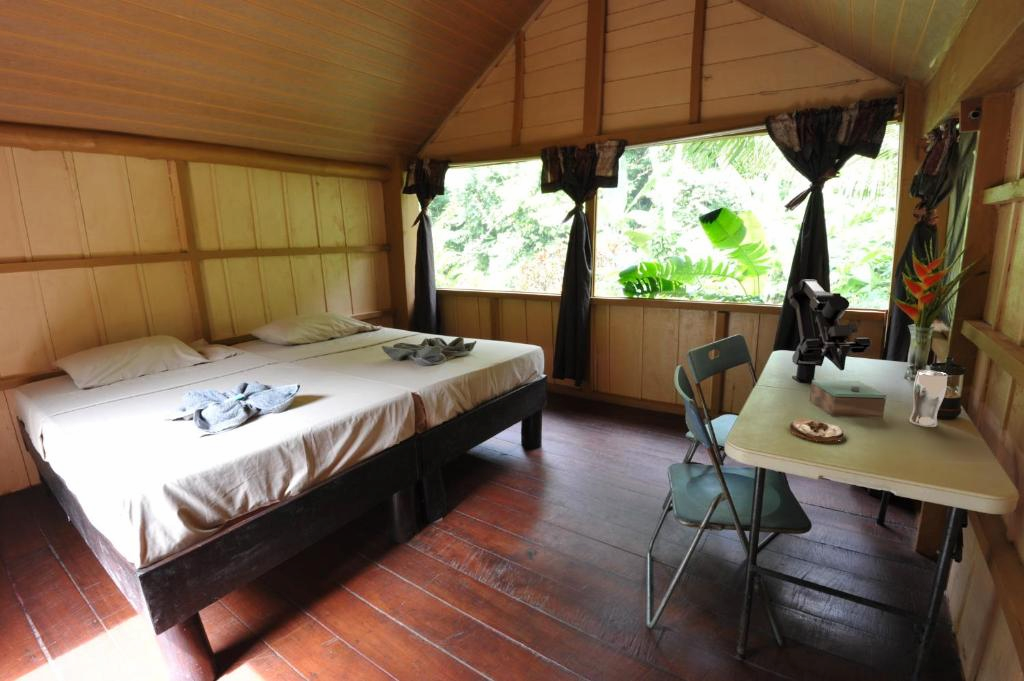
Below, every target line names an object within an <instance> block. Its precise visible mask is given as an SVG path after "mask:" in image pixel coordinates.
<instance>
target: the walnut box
mask: <svg viewBox="0 0 1024 681" xmlns="http://www.w3.org/2000/svg"><path fill="white" fill-rule="evenodd" d="M808 401H809V402H810V403H812V404H813V405H814V406H816V407H817V408H819V409H820V410H822V411H823V412H825V413H826V414H828V415H829V416H830V417H832V418H833V417H834V418H855V419H856V418H857V419H859V418H860V419H861V418H862V419H863V418H864V419H865V418H866V419H883V418H884V412H885V407H886V401H887V400H886V398H865V397H835V396H833V395H831V394H830V393H828V392H826V391H825V390H823V389H821V388H820V387H818V386H816V385H814V384H813V383H812V382H811V385H810V394H809V400H808Z"/></svg>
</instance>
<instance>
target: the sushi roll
mask: <svg viewBox="0 0 1024 681" xmlns="http://www.w3.org/2000/svg"><path fill="white" fill-rule="evenodd" d="M790 430H791V431H792V432H793V433H795V434H797V435H799V436H802V437H804V438H807V439H806V440H808V441H812V440H817V441H816V442H818V441H825V442H824V443H826V442H834V443H836V442H835V441H838V440H842V441H843V436H844V431H843V429H842V428H841V427H839V426H838V425H835V424H832V423H829V422H824V421H821V420H816V419H811V418H805V417H803V418H798V419H795V420H794V421H792V423H790V425H789V431H790ZM791 431H790V432H791ZM792 432H791V433H792ZM793 433H792V434H793ZM795 434H794V435H795ZM797 435H796V436H797ZM799 436H798V437H799ZM802 437H801V438H802ZM804 438H803V439H804ZM809 439H810V440H809Z"/></svg>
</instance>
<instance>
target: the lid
mask: <svg viewBox="0 0 1024 681" xmlns="http://www.w3.org/2000/svg"><path fill="white" fill-rule="evenodd" d="M812 383H813V384H814V385H816V386H818V387H820V388H821V389H823V390H825V391H826V392H828V393H830V394H831V395H833V396H835V397H865V398H885V399H886V398H887V394H886V393H884V392H881V391H880V390H877V389H876V388H875V387H871V386H869V385H867V384H865V383H863V382H861V381H860V380H837V379H835V380H834V379H833V380H832V379H831V380H829V379H815V380H812V382H811V384H812Z"/></svg>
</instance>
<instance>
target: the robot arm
mask: <svg viewBox="0 0 1024 681" xmlns="http://www.w3.org/2000/svg"><path fill="white" fill-rule="evenodd" d="M787 299H789V303H790V305H791V307H793V308H794V309H795V311H796V312H795V313H796V319H797V323H798V324H797V326H798V333H799V338H800V342H799V343H798V345H797V347H796V350H795V351H794V353H793V355H792V359H791V360H792V361H791V362H792V363H793V365H795V366H796V368H797V369H796V373H795V374H796V375H792V376H791V378H792V379H794V380H796V381H797V382H799V383H812V380H816V379H815V374H816V367H818V366H819V367H822V366H823V364H824V360H825V358H826V359H828V361H830V362H831V363H832V364H833V365H834V366H835V367H836V368H837V369H838V370H839V371H844V370H845V366H846V360H847V359H846V358H847V355H848V354H849V352H852V353H853V354H863V353H866V352H867V351H868V350H869V348H871V347H872V345H873V342H872V340H871V339H870V337H855V338H854V339H853V341H850V342H849V341H847V340H848V339H849V336H850V337H851V336H853V335H854V334H857V333H858V330H859V328H858V326H857V323H856V322H849V323H847V324H840V322H839V319H841V318H842V317H843V315H844V314H845V312H847V310H848V309H849V307H850V302H849V300H848V299H847V298H846V297H844V296H843V295H842V294H841V293H840V292H839V293H838V292H828V291H825V290H824V289H823V287H822V286H821V285H820V284H819V283H818V280H816V279H812V278H811V279H807V278H805V279H801V280H800V281H799V282H798V283H795V284H793V285H792V286H791V287H790V288H789V289H788V291H787ZM811 309H812V310H811ZM812 311H814V312H817V315H816V317H815V323H817V325H818V328H819V331H820V332H819V335H818V336H819V337H820V338H821V339H822V340H821V339H820V338H816V334H815V329H814V324H813V315H812ZM846 341H847V342H846Z"/></svg>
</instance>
